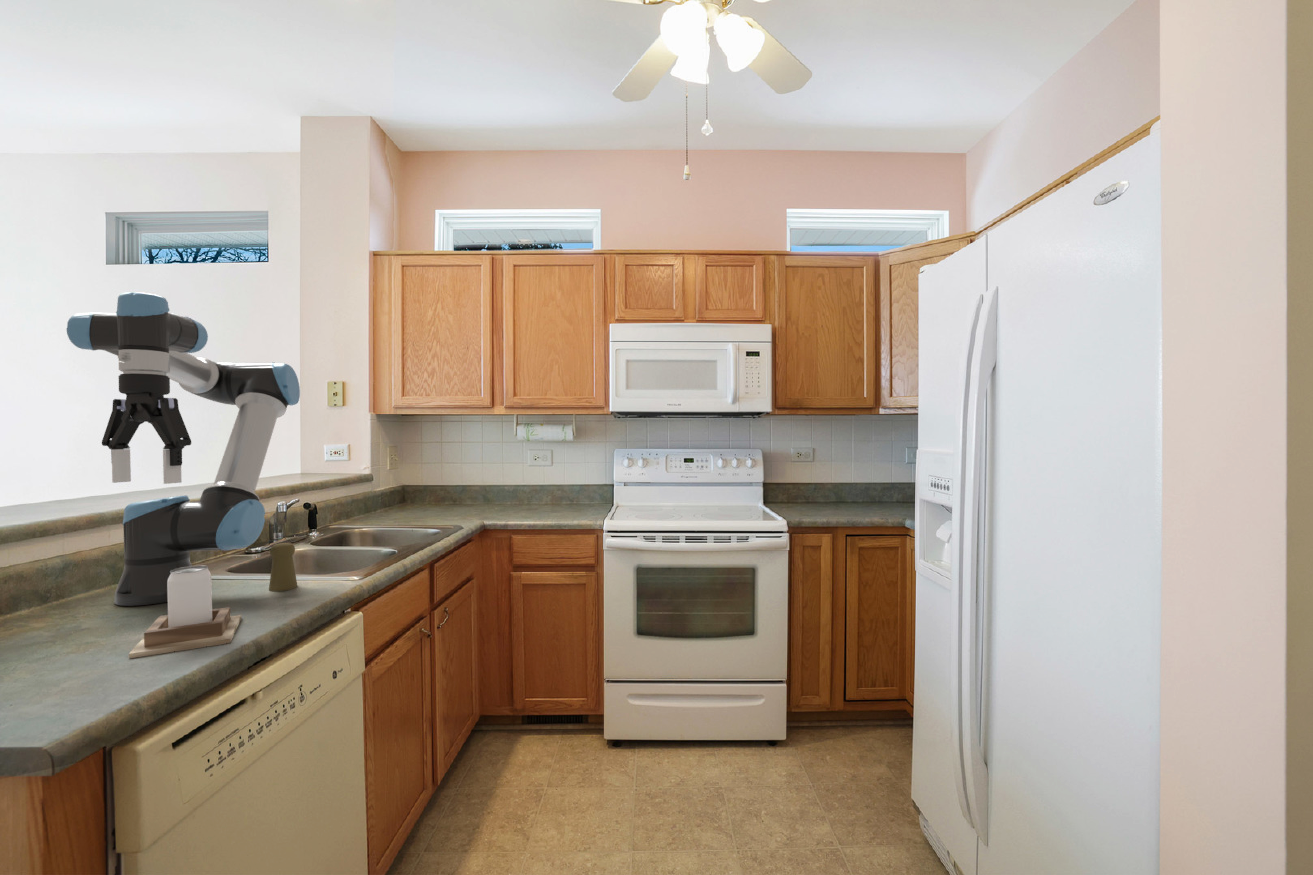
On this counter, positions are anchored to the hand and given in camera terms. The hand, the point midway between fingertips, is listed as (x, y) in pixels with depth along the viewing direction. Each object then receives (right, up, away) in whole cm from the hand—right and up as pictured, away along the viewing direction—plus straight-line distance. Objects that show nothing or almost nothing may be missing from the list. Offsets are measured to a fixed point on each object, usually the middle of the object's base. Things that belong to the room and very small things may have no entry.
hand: (146, 482), depth 114 cm
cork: (+8, -29, +30) cm, 42 cm away
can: (+12, -28, -5) cm, 31 cm away
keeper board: (+12, -29, -4) cm, 31 cm away
